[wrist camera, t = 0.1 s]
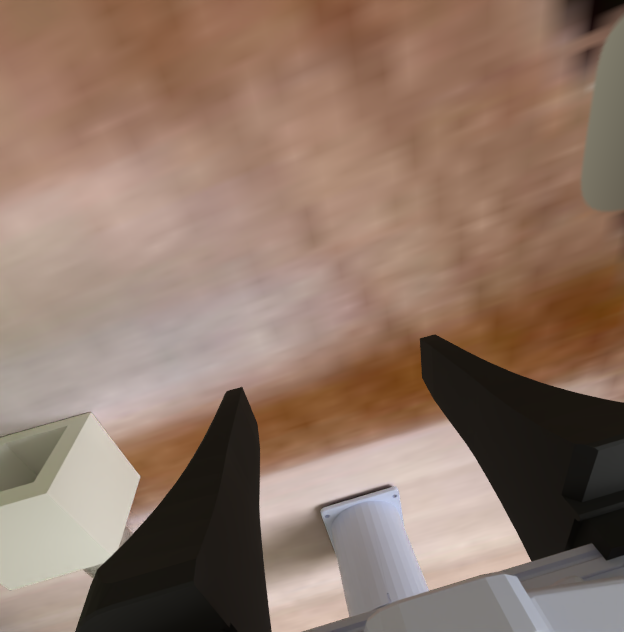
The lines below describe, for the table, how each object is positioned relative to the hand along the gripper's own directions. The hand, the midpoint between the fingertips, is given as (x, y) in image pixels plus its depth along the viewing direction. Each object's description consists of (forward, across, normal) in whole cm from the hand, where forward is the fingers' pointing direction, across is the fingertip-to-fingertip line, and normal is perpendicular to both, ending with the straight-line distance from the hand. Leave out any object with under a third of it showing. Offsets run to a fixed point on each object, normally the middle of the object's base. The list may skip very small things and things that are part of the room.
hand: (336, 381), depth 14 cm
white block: (+10, +20, +10) cm, 25 cm away
